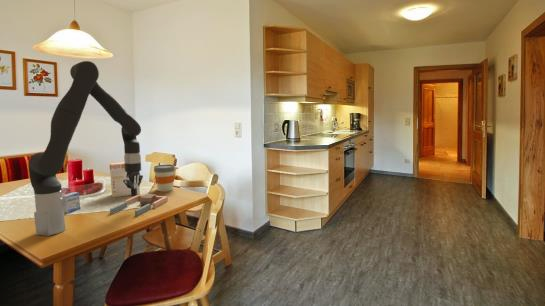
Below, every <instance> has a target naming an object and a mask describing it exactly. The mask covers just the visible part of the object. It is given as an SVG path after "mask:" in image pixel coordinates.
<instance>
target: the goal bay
mask: <svg viewBox="0 0 545 306" xmlns="http://www.w3.org/2000/svg"><path fill="white" fill-rule="evenodd" d="M144 195H145V194H138V195H136V196H131V197H130V198H128V199H126V200H124V201H123V203H124V202H127V205H128V206H130V205H131V204H135V203H136V202H139V201H140V197H142V196H144ZM156 200H157V201H155V202H154V203H152V204H151V206H152V208H153V209H156V208H158V207H160V206H161V205H164V204H165V203H167V202H168V201H169V197H168V196H164V195H163V196H162V195H156ZM129 204H130V205H129Z"/></svg>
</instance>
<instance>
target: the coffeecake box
mask: <svg viewBox="0 0 545 306" xmlns="http://www.w3.org/2000/svg"><path fill="white" fill-rule="evenodd" d="M109 174H110V177H109V178H110V187H111V197H112V198H117V197H125V196H126V197H127V196H132V195H131V189H130V188H127V186H126V185H125V183H124V182H123V180H125V179H126V178H127V177H126V175H127V172H126V171H125V164H124V161H118V162H117V161H115V162H110V163H109ZM140 187H141V186H138V188H137V195H141V193H140V192H141V191H140V189H141V188H140ZM137 195H136V196H137Z"/></svg>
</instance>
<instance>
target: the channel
mask: <svg viewBox="0 0 545 306" xmlns="http://www.w3.org/2000/svg"><path fill="white" fill-rule="evenodd" d="M128 206H129V205H128ZM128 206H127V202H124V201H123V202H122V203H119V204H117V205H116V206H112V207H111V208H110V209H109V214H110V215H114V214H115V213H116V214H117V213H118V212H120V211H122V210H124V209H127V208H128ZM126 207H127V208H126ZM151 209H152V204H144V205H143V206H141V207H139V208H137V209H135V210H134V216H136V217H139V216H140V215H142V214H144V213H146V212H147V211H149V210H151Z"/></svg>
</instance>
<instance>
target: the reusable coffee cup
mask: <svg viewBox="0 0 545 306" xmlns="http://www.w3.org/2000/svg"><path fill="white" fill-rule="evenodd" d="M175 167H176V166H175V164H157V165H155V166H153V172H154V180H155V183H156V186H157V191H159V192H170V191H172V190H174V182H175V178H176V177H175V175H176V174H175V170H176V168H175Z"/></svg>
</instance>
